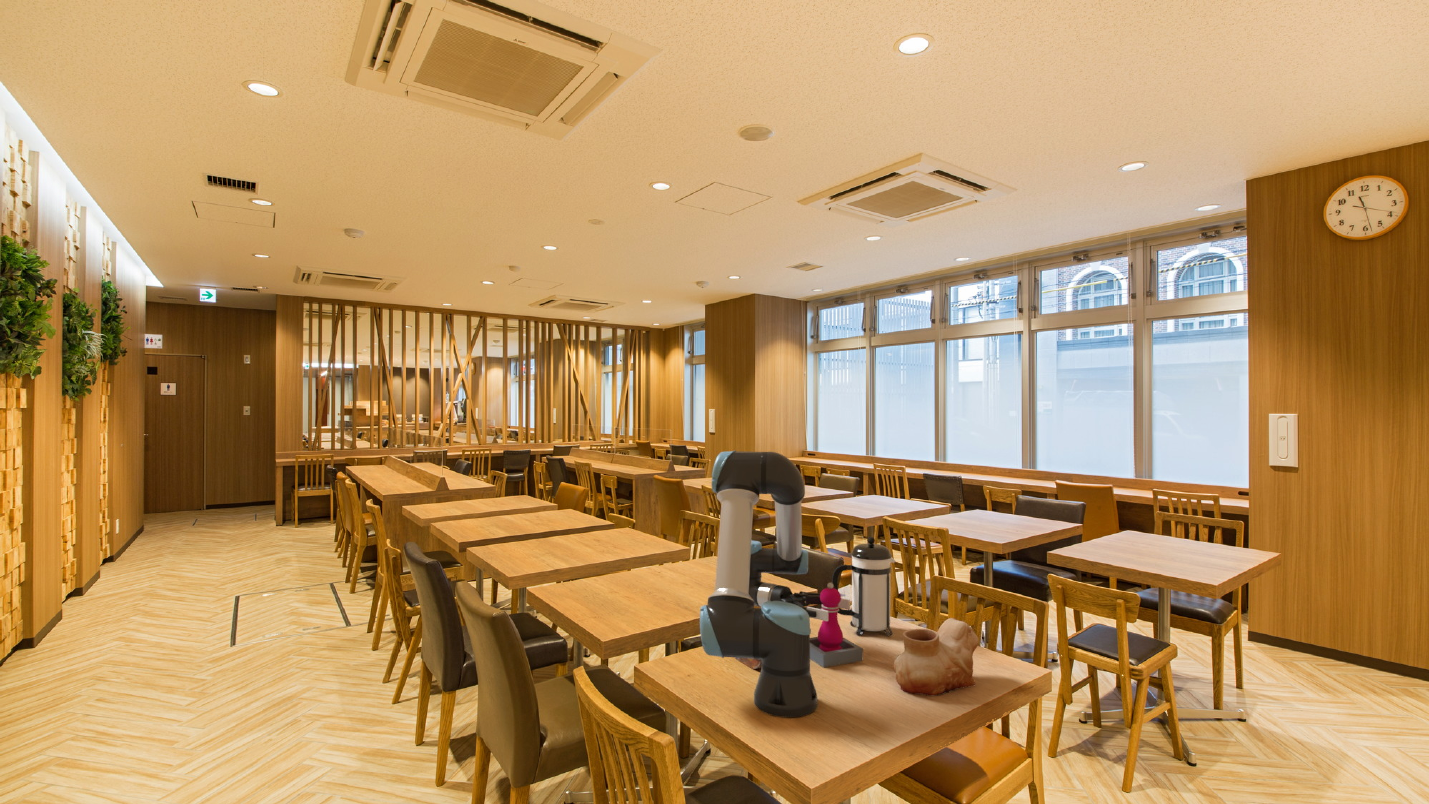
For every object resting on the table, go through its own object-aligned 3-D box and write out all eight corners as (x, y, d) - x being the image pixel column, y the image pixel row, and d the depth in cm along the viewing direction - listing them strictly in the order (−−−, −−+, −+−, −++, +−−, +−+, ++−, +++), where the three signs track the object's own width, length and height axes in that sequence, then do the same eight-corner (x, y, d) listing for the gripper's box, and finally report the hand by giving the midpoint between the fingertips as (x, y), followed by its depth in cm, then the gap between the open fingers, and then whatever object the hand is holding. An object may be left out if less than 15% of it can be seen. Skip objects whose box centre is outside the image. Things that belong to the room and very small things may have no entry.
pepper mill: (841, 648, 192) (841, 579, 192) (844, 657, 184) (844, 586, 185) (816, 647, 192) (817, 579, 192) (818, 656, 185) (818, 585, 185)
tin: (730, 655, 188) (730, 626, 188) (739, 653, 190) (739, 624, 190) (759, 674, 175) (760, 642, 175) (769, 671, 177) (769, 640, 177)
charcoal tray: (823, 667, 180) (823, 654, 180) (799, 651, 192) (799, 639, 192) (862, 660, 185) (862, 648, 185) (836, 645, 197) (836, 633, 197)
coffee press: (863, 619, 222) (863, 530, 222) (904, 631, 210) (904, 537, 210) (830, 630, 211) (830, 536, 211) (871, 643, 198) (871, 544, 199)
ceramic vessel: (994, 682, 171) (994, 624, 171) (921, 703, 158) (921, 641, 158) (951, 664, 183) (951, 610, 183) (881, 682, 170) (881, 624, 170)
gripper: (796, 600, 210) (857, 612, 197) (752, 619, 190) (818, 635, 177) (796, 576, 210) (857, 587, 197) (752, 593, 190) (818, 607, 177)
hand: (839, 610), depth 187 cm, fingers open, 13 cm apart
